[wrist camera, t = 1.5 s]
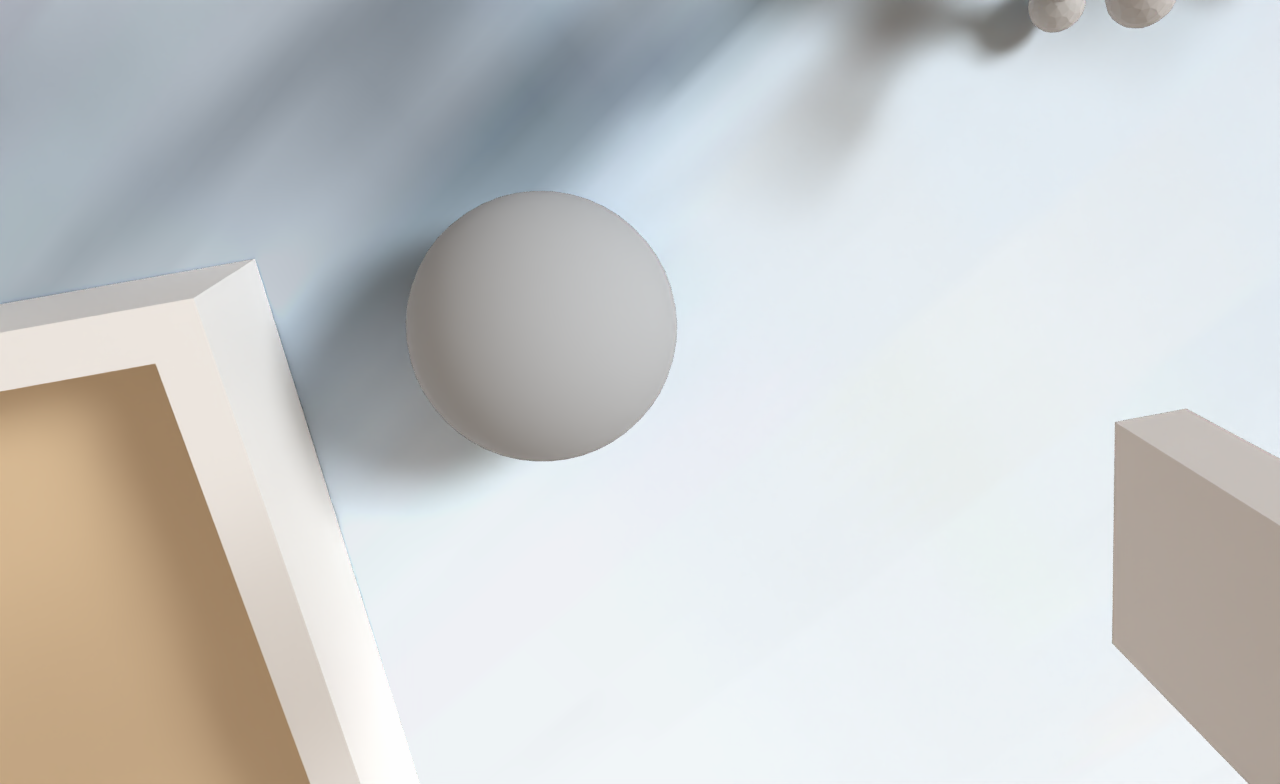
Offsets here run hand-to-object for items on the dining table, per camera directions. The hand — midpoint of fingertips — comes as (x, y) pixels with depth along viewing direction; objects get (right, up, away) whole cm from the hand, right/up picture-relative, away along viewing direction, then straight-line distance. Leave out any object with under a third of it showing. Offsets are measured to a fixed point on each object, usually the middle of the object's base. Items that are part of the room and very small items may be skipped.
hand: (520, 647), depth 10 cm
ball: (-1, +5, +14) cm, 15 cm away
